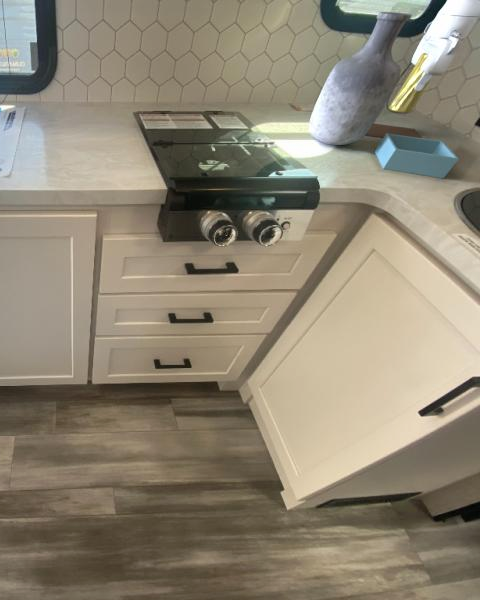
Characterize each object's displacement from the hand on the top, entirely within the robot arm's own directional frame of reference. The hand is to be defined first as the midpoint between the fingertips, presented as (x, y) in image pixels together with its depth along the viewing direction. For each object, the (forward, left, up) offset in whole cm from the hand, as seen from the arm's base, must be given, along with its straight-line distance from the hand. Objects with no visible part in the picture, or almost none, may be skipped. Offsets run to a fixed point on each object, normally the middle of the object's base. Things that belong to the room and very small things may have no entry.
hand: (413, 87), depth 102 cm
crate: (0, +28, -13) cm, 31 cm away
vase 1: (+18, +19, -13) cm, 29 cm away
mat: (0, 0, -13) cm, 13 cm away
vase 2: (0, 0, -6) cm, 6 cm away
